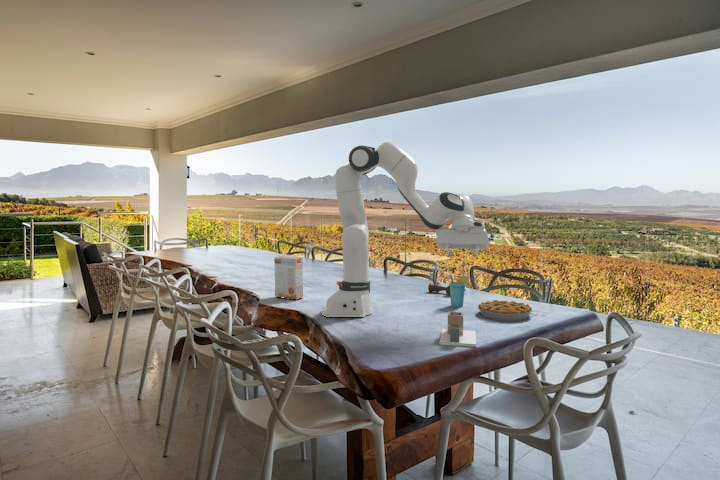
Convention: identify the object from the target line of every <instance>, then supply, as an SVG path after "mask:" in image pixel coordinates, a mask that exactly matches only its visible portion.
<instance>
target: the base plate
mask: <svg viewBox="0 0 720 480" xmlns="http://www.w3.org/2000/svg"><path fill="white" fill-rule="evenodd" d="M440 333H441V334H440V337H439V345H441V346H454V347H468V348H469V347H470V348H477V337H476V335H477V333H476V330H469V329H468V330H466V329H463V335H459V342H450V335H449V334H448V328H447V329H446V328H442V329H441V332H440Z"/></svg>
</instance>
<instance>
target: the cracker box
mask: <svg viewBox="0 0 720 480" xmlns="http://www.w3.org/2000/svg"><path fill="white" fill-rule="evenodd" d="M273 261H274V262H273V263H274V295H275V296H276V297H284V298H291V299H299V298H302V297H303V298H304V279H303V278H304V272H303V271H304V270H303V257H295V256H285V255H284V256H283V255H282V256H275V257H274V260H273ZM275 296H274V297H275ZM299 300H300V299H299Z"/></svg>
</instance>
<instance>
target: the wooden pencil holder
mask: <svg viewBox="0 0 720 480" xmlns="http://www.w3.org/2000/svg"><path fill="white" fill-rule="evenodd" d="M454 313H458V315H454ZM451 324H454V325H460V330H459V335H463V330H464V311H447V329H448V334H449V335H450V327H451Z"/></svg>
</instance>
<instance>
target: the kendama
mask: <svg viewBox="0 0 720 480" xmlns="http://www.w3.org/2000/svg"><path fill="white" fill-rule="evenodd" d="M443 291H444V292H445V293H446V295H448V296H449V297H450V286H449V285H448V286H443V285H440V284H438V283H437V284H433V282H432V283H431V282H430V283H429V284H428V292H429V293H432V292H435V293H439V292H443ZM464 292H466V289H465V291H464Z"/></svg>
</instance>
